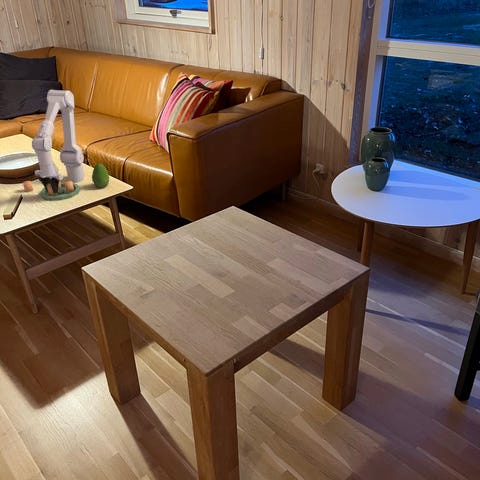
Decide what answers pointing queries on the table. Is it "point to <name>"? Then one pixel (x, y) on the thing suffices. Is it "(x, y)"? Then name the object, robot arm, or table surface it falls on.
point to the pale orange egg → (50, 190)
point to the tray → (60, 193)
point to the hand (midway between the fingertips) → (52, 191)
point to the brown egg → (28, 186)
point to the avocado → (100, 176)
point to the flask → (55, 167)
